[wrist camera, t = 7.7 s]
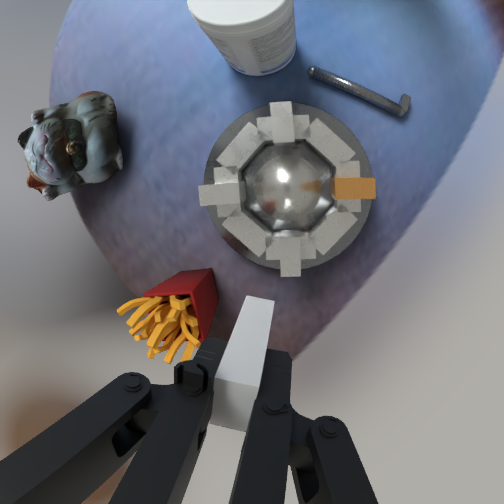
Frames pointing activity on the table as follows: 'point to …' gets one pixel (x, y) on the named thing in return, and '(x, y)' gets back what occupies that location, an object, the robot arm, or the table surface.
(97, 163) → the lucky cat figurine
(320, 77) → the pin spanner
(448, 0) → the table surface
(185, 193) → the table surface
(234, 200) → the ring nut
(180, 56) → the table surface
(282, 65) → the supplement tub
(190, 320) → the french fries
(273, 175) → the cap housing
